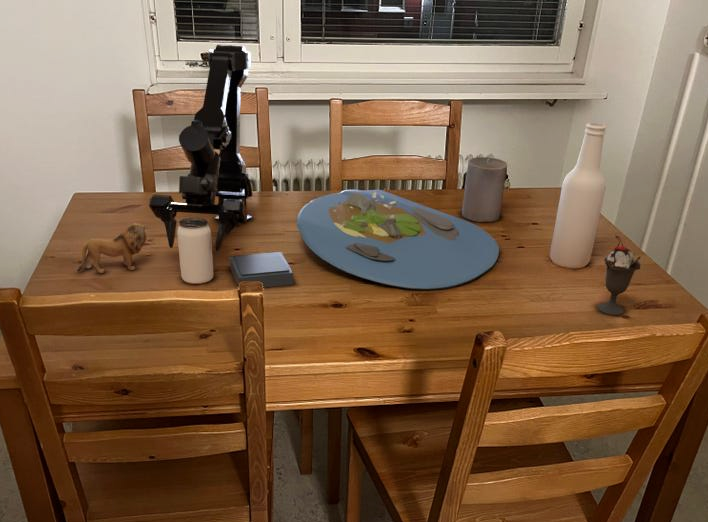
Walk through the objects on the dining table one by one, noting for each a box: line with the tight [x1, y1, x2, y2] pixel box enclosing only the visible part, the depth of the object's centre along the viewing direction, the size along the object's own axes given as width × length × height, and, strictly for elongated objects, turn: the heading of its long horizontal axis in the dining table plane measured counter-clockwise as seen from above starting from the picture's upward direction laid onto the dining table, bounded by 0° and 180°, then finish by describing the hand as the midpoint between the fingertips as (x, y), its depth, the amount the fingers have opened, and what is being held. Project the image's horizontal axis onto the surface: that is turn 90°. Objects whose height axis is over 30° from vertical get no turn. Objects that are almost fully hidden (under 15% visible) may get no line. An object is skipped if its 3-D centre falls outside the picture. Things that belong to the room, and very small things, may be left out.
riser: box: [229, 251, 294, 289], centre depth 152 cm, size 11×11×3 cm
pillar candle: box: [461, 156, 508, 223], centre depth 184 cm, size 10×10×15 cm
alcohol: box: [549, 121, 607, 269], centre depth 157 cm, size 9×9×30 cm
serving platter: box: [296, 187, 500, 291], centre depth 165 cm, size 45×43×12 cm
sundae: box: [597, 235, 642, 316], centre depth 141 cm, size 7×7×15 cm
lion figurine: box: [76, 222, 147, 274], centre depth 151 cm, size 15×5×9 cm, turn 116°
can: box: [176, 216, 214, 285], centre depth 148 cm, size 6×6×12 cm
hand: (193, 248), depth 146 cm, fingers open, 9 cm apart
